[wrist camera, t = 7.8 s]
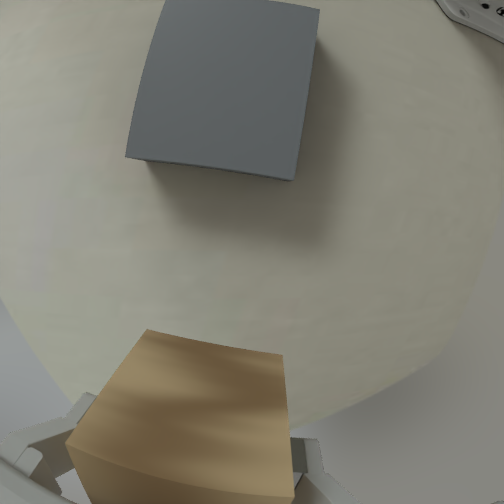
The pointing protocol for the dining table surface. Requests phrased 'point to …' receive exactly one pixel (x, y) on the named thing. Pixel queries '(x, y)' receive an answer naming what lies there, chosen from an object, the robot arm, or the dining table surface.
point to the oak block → (187, 427)
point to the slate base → (226, 86)
